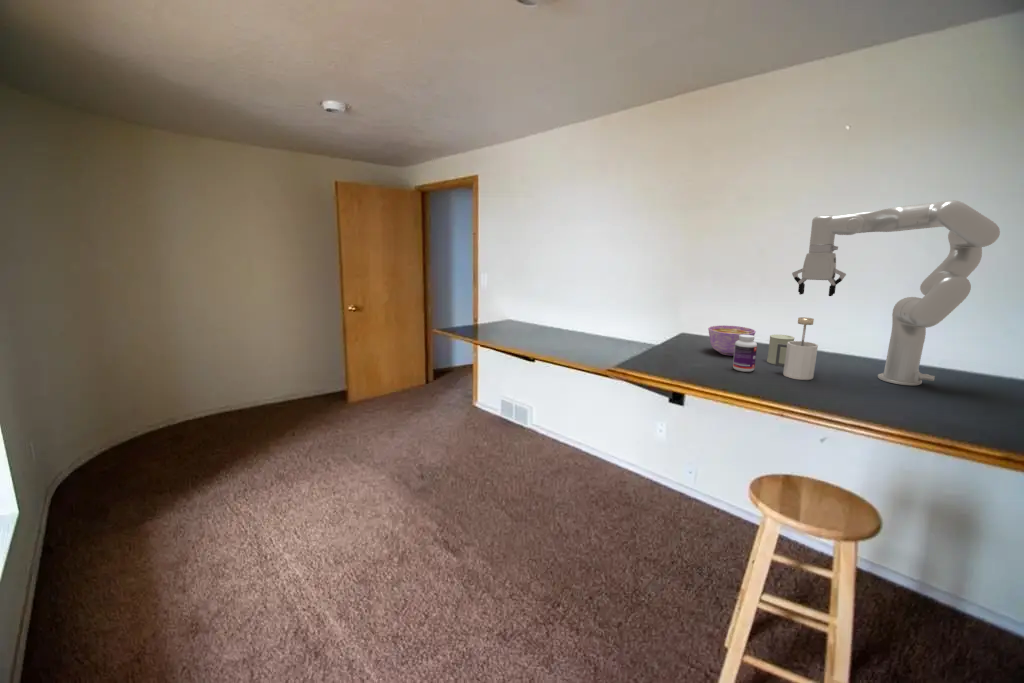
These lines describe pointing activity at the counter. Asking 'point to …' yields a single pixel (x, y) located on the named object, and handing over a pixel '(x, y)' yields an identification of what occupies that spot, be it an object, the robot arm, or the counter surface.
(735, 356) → the pill bottle
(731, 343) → the bowl of food
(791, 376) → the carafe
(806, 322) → the plunger
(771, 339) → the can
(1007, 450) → the counter surface
